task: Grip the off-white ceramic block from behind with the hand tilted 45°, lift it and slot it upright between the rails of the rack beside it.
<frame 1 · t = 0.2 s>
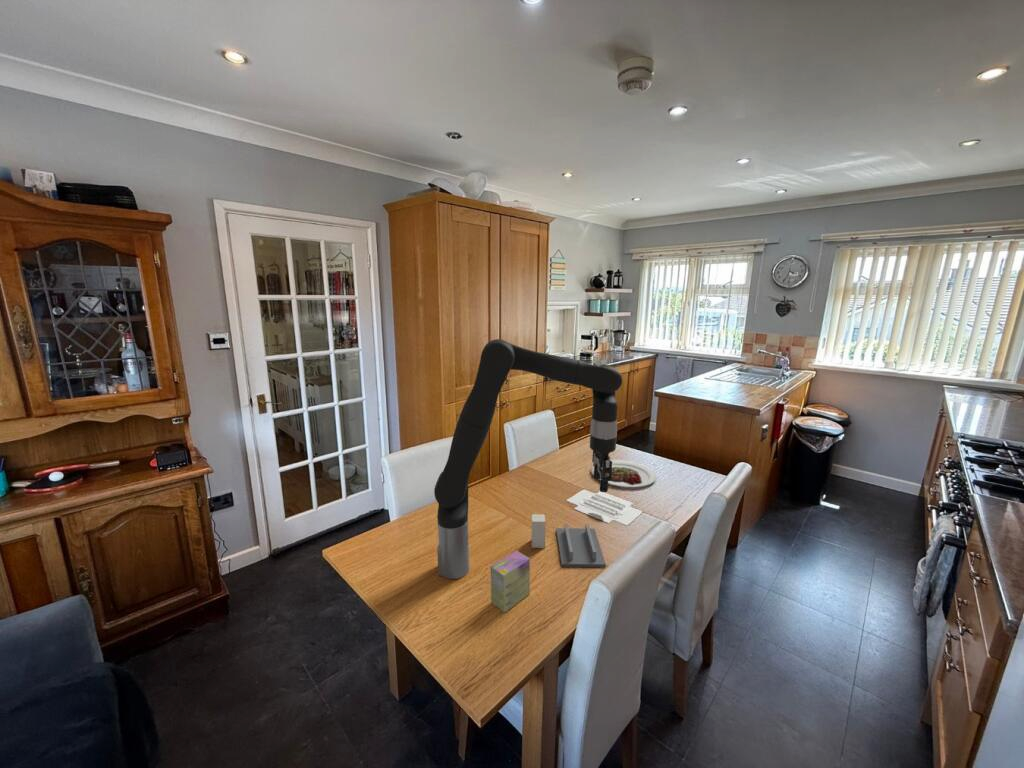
hand: (600, 484, 121), 29 cm above the table, tool pointing down, fingers open, 8 cm apart
tray: (603, 508, 165), on the table
rack: (579, 547, 138), on the table
box: (510, 599, 115), on the table
block: (538, 543, 141), on the table
plated food: (622, 476, 193), on the table
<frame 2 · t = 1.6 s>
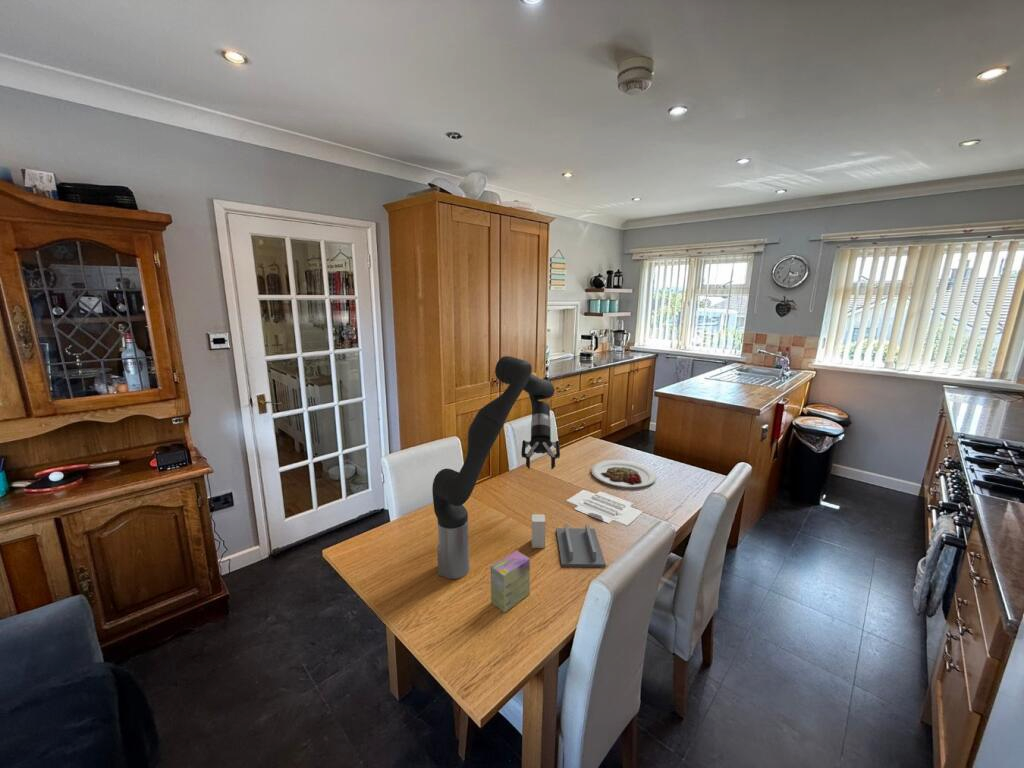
hand: (540, 468, 147), 23 cm above the table, tool tilted 45°, fingers open, 8 cm apart
nothing on the table moved.
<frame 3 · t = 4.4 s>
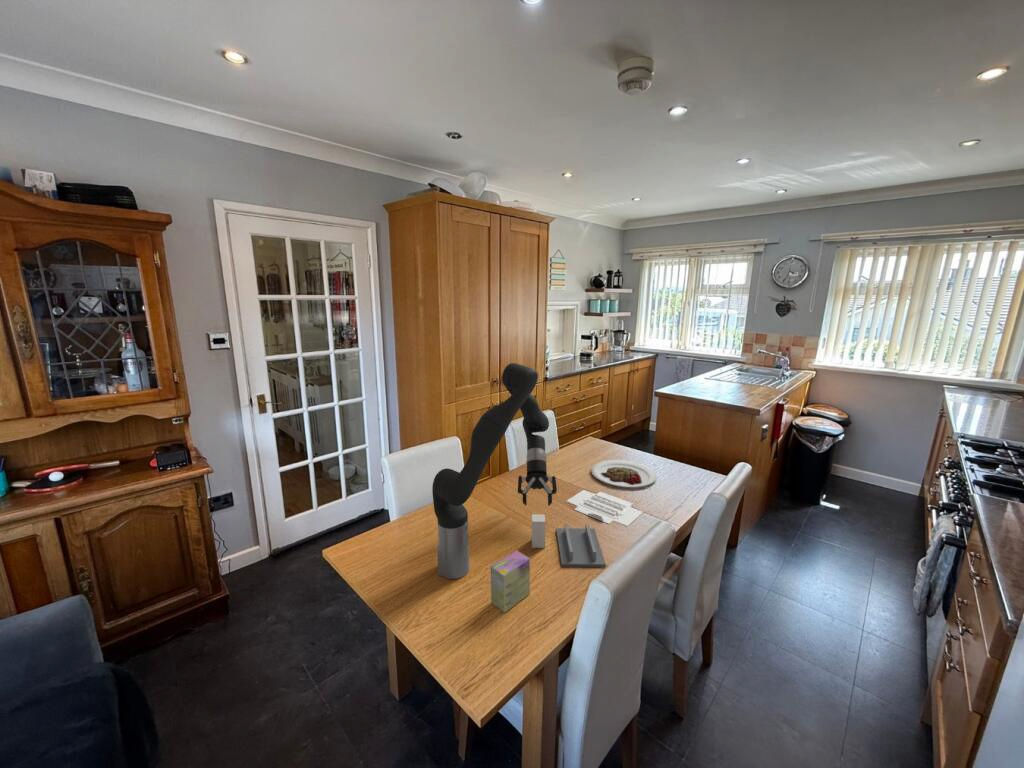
hand: (537, 504, 145), 11 cm above the table, tool tilted 45°, fingers open, 8 cm apart
nothing on the table moved.
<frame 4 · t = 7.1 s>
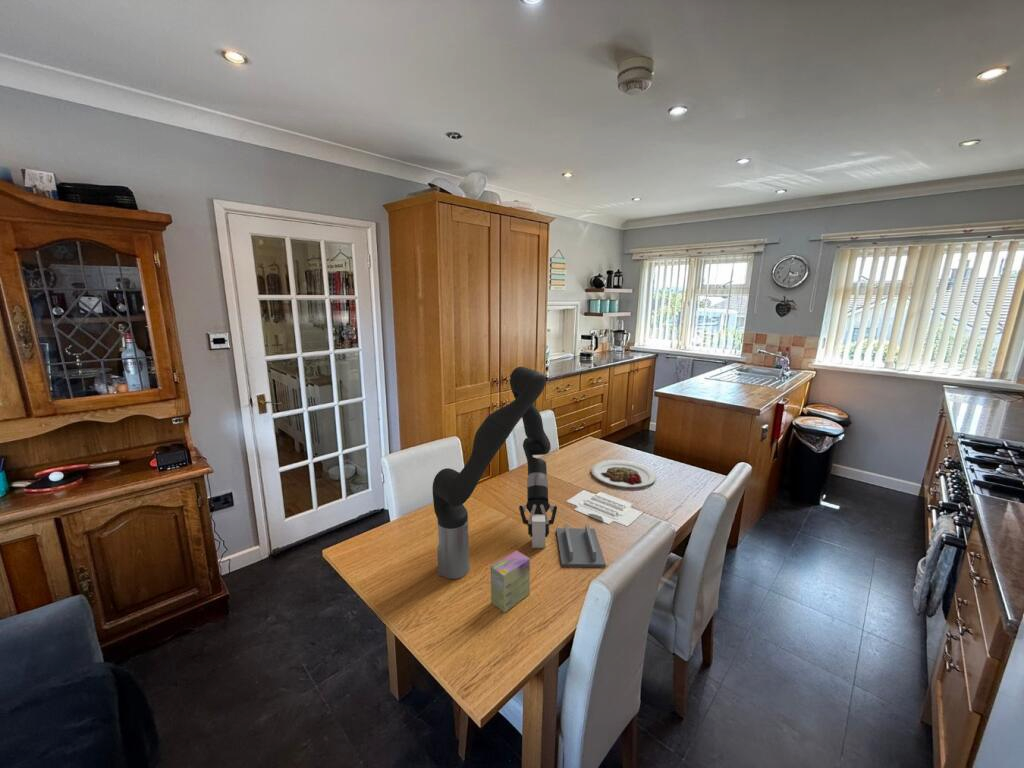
hand: (538, 536, 138), 4 cm above the table, tool tilted 45°, fingers closed on block, 4 cm apart
block: (538, 543, 141), on the table, touching gripper
everything else where it was.
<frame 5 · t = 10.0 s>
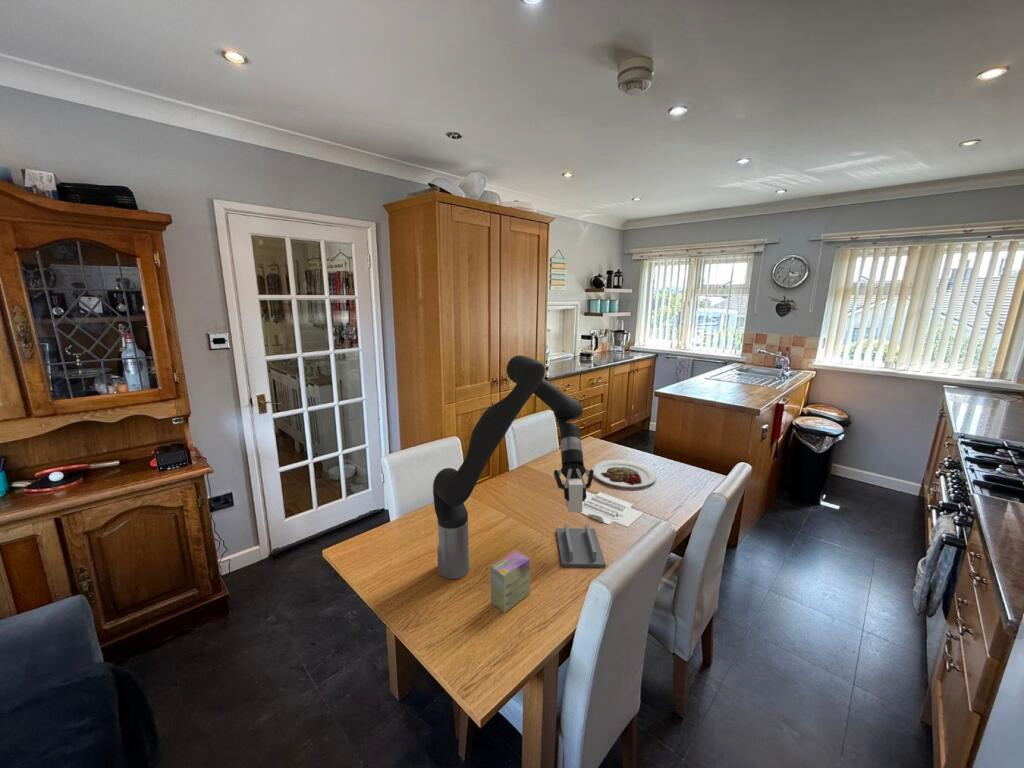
hand: (575, 500, 133), 18 cm above the table, tool tilted 45°, fingers closed on block, 4 cm apart
block: (574, 508, 136), point 14 cm above the table, touching gripper
when the fingers open (6 cm above the table, at t = 13.4 s): block drops 1 cm, resting on rack.
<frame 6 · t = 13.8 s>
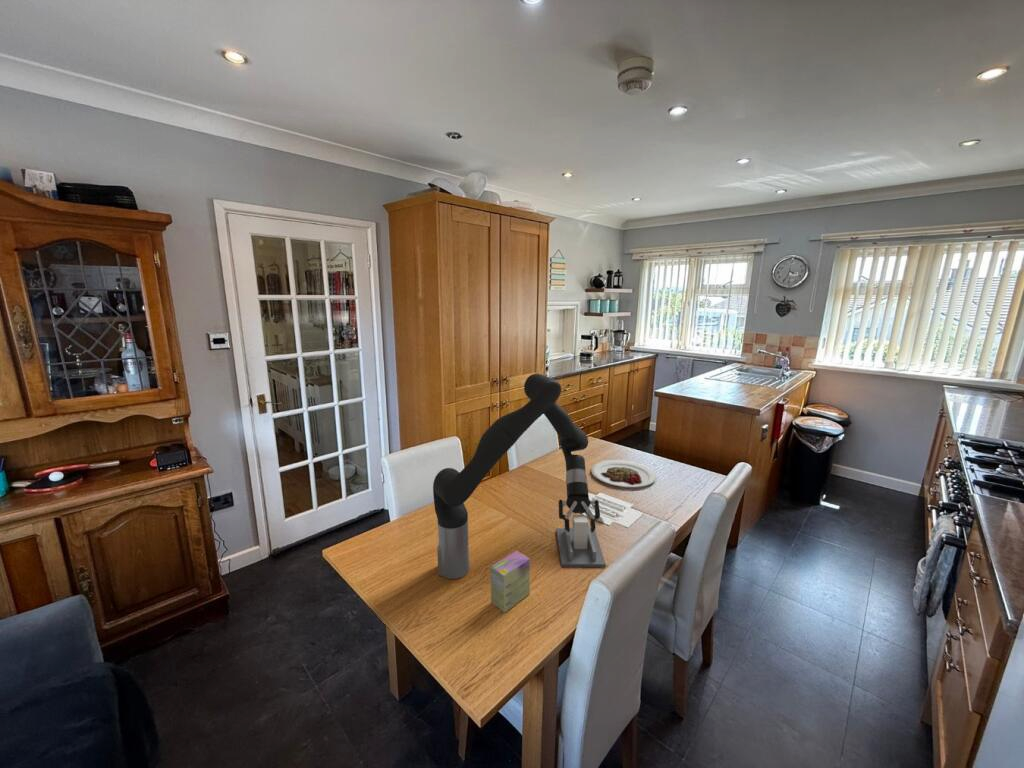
hand: (580, 531, 135), 7 cm above the table, tool tilted 45°, fingers open, 7 cm apart
block: (579, 544, 138), point 1 cm above the table, touching rack
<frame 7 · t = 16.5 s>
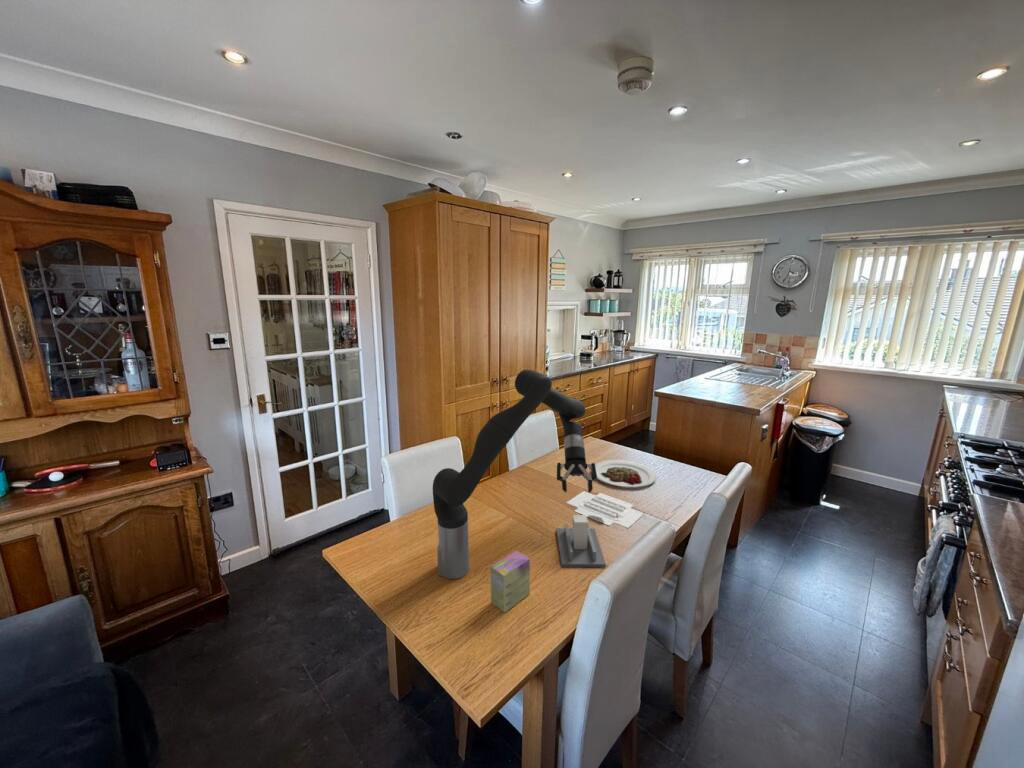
hand: (577, 491, 142), 17 cm above the table, tool tilted 45°, fingers open, 8 cm apart
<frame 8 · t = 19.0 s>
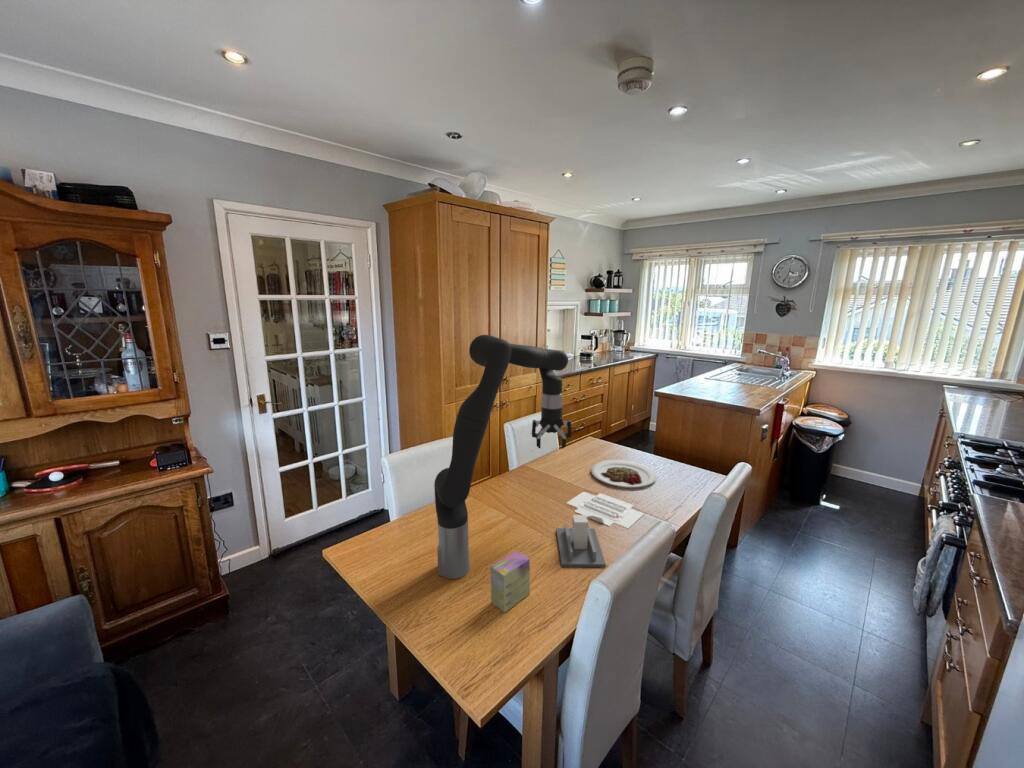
hand: (551, 447, 148), 30 cm above the table, tool pointing down, fingers open, 8 cm apart
at the end: block inside the target area on the rack (0.1 cm from its centre), point 1.0 cm above the rack's base; block tilted 0°; the gripper is holding nothing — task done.
